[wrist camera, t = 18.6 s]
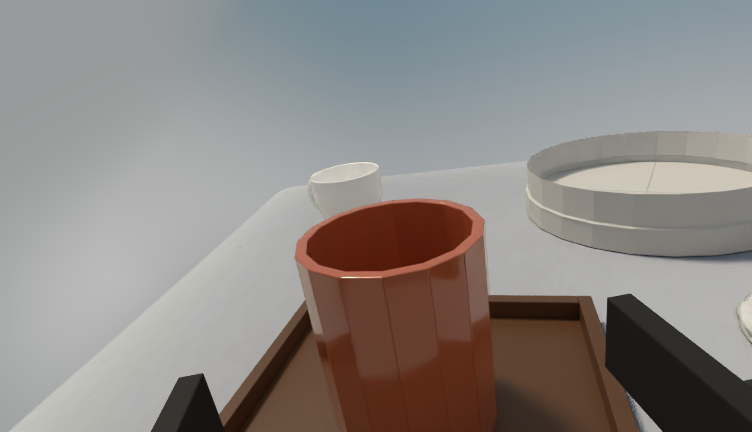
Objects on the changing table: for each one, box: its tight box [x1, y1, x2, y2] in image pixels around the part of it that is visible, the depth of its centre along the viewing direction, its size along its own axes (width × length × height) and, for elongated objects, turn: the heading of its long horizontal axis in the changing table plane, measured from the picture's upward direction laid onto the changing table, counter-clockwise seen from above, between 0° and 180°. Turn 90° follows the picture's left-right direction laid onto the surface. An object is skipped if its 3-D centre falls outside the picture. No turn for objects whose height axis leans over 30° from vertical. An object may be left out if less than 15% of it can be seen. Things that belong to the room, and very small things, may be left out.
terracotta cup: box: [295, 199, 498, 432], centre depth 20 cm, size 8×8×10 cm
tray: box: [219, 295, 639, 432], centre depth 22 cm, size 20×18×2 cm
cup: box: [307, 162, 382, 220], centre depth 48 cm, size 8×10×7 cm
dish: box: [526, 131, 752, 257], centre depth 41 cm, size 22×22×5 cm
